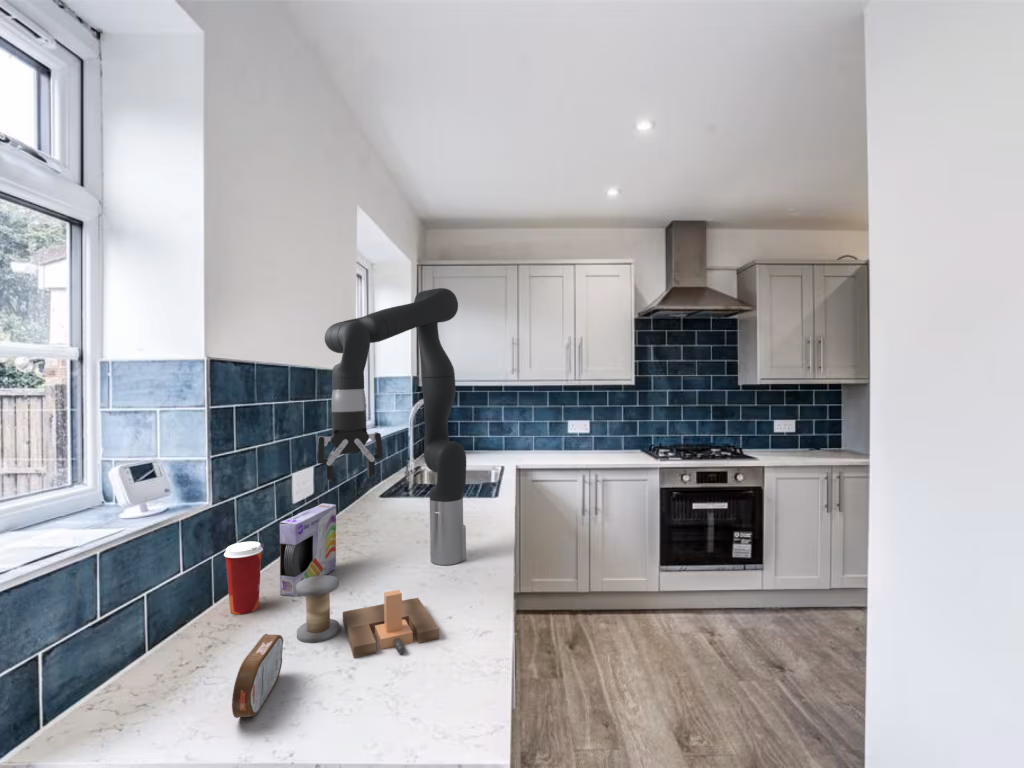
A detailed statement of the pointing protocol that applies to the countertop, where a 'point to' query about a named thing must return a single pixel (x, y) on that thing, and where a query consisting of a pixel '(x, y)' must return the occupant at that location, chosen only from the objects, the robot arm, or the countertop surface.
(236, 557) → the paper cup
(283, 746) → the countertop surface
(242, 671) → the tin
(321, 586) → the bobbin
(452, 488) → the robot arm
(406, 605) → the brown flat u-shaped block
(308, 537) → the cake pan box
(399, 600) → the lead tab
